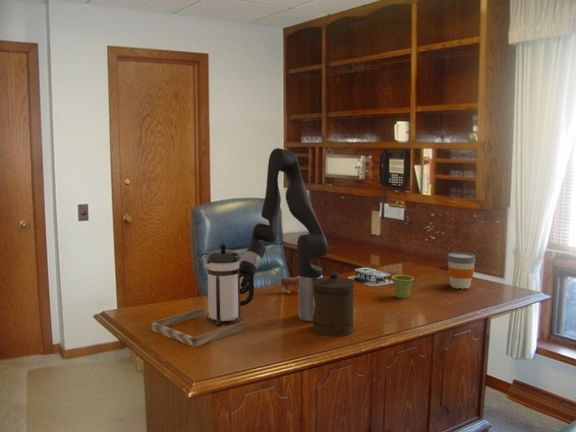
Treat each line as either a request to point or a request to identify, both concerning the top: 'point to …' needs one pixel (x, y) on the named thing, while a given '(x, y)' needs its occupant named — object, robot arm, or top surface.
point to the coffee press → (226, 285)
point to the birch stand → (162, 328)
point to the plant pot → (402, 285)
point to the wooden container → (333, 306)
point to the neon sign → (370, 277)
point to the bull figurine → (290, 283)
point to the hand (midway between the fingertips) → (231, 301)
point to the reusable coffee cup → (460, 269)
